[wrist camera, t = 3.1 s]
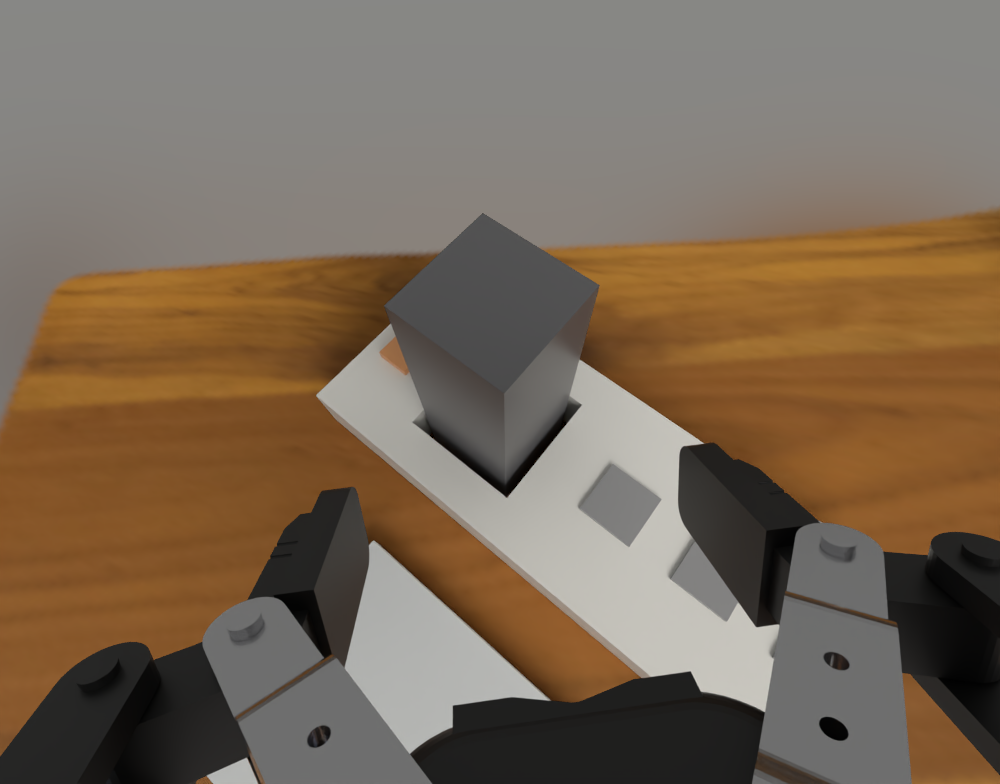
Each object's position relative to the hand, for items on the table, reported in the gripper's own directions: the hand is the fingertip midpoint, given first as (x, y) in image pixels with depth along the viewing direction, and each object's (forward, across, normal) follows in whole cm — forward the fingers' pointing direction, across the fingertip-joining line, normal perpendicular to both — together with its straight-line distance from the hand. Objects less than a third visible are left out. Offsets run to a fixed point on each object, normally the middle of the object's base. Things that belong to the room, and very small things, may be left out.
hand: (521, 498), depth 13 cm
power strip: (+10, -4, +7) cm, 12 cm away
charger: (+12, 0, +4) cm, 13 cm away
